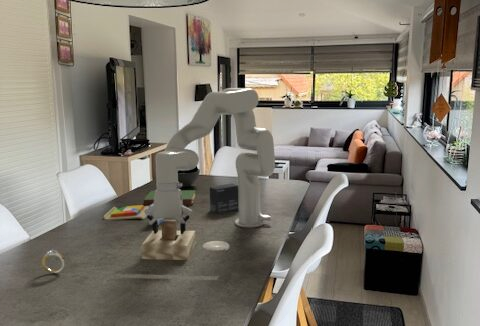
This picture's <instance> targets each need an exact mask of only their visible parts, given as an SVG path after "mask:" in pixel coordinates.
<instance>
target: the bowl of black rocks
mask: <svg viewBox="0 0 480 326" xmlns="http://www.w3.org/2000/svg"><path fill="white" fill-rule="evenodd" d="M200 173H201V170H200V168H198V165H197V166H196V167H195V168H194V169H192V170H180V171H178V182H179V183H182V187H181V188H186V187H190V186H193V184H195V183H196V181H198V179H199V177H200Z"/></svg>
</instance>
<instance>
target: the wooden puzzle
mask: <svg viewBox="0 0 480 326" xmlns="http://www.w3.org/2000/svg"><path fill="white" fill-rule="evenodd" d="M148 208H149V206H144V204H140V205H139V204H138V205H130V206H129V205H128V206H127V205H126V206H118V207H117V206H113V207H112V208H111V209H110V210H109V211H108V212H106V213H105V214H104V215H103V219H104V220H105V221H113V220H114V221H115V220H116V221H119V220H131V219H132V220H133V219H141V220H145V219H146V218H147V216H146V214H145V212H144V211H145V210H146V209H148Z"/></svg>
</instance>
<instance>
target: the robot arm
mask: <svg viewBox="0 0 480 326" xmlns="http://www.w3.org/2000/svg"><path fill="white" fill-rule="evenodd" d="M259 99H260V97H259V94H258V92H257V91H256V90H255V89H253V88H250V87H228V88H224V89H222V90H221V91H211V92H209V93H207V94H206V95H205V97H204V99H203V100H202V101H201V104H200V105H199V107H198V108H197V111H196V112H195V114H194V115H193V117H192V119H191V120H190V122H189V123H187V124H186V125H184V126H183V127H182V128H181V129H179V130H178V131H177V132H176V133H174V135H173V136H172V137H171V139H170V140H169V142H168V143H167V145H166V146H165V148H164V150H163V151H159V152H157V153H155V178H156V179H155V180H156V188H155V190H154V191H155V194H154V206H152V207H150V208H148V209H146V210H145V211H144V212H145V214H146V218H147V219H148V220H150V221H151V223H152V225H151V227H152V231H154V234H156V233H157V232H158V230H159V225H158V221H157V218H165V219H178V220H179V222H180V224H179V225H180V227H179V228H180V230H179V231H181V234H183V233H184V231H187V230H186V229H187V228H186V227H187V226H186V222H187V221H188V220H189V219H190V218H191V216H192V214H193V212H194V211H193V210H192V209H191V208H189V207H187V206H183V199H182V193H181V191H182V190H181V189H180V188H183V187H182V183H179V182H178V171H180V170H192V169H194V168H195V167H196V166H197V167H198V164H199V162H200V158H199V155H198V153H197V152H196V151H195V150H193V149H188V148H186V147H187V146H188V145H190V144H191V143H193V142H194V141H197V140H199V139H200V140H201V139H202V138H205V137H207V136H208V135H210V134H211V133H212V131H213V130H214V127H215V126H216V124H217V122H218V121H219V119H220V117H221V116H222V115H232V116H233V119H234V126H235V136H236V143H237V146H238V147H239V148H240V149H242V150H247V151H243V152H241V153H239V154H238V155H237V156H236V157H235V169H236V173H237V185H238V206H239V209H238V218H236V219H235V220H234V224H235V225H236V226H237V227H241V228H246V229H247V228H248V229H252V228H253V229H254V228H258V227H261V226H263V225H264V224H265V221H271V220H272V219H271V218H272V216H270V215H268V214H262V211H261V181H260V179H259V177H262V178H263V177H264V178H268V177H270V176H272V175H273V173H274V171H275V168H276V167H275V166H276V157H275V156H276V155H275V146H274V145H275V144H274V137H273V135H272V132H271V131H270V130H269V129H267V128H264V127H263V128H262V127H257V124H256V123H257V122H256V117H255V111H253V110H254V109H256V107H257V106H258V104H259V101H260V100H259ZM254 151H255V152H254ZM152 210H153V212H154V217H153V216H152V215H151V214H150V211H152ZM184 212H185V213H187V215H186V216H185V215H184Z"/></svg>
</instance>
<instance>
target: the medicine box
mask: <svg viewBox="0 0 480 326" xmlns="http://www.w3.org/2000/svg"><path fill="white" fill-rule="evenodd" d="M152 206H154V203H153V204H151V205H150V206H149V208H150V207H152ZM150 214H151V215H152V216H153V217H154V212H153V210H152V211H150ZM148 220H149V219H148ZM164 220H166V218H157V221H158V226H160V225H161V223H162V222H163V221H164ZM149 225H151V226H152V223H151V221H150V220H149Z"/></svg>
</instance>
